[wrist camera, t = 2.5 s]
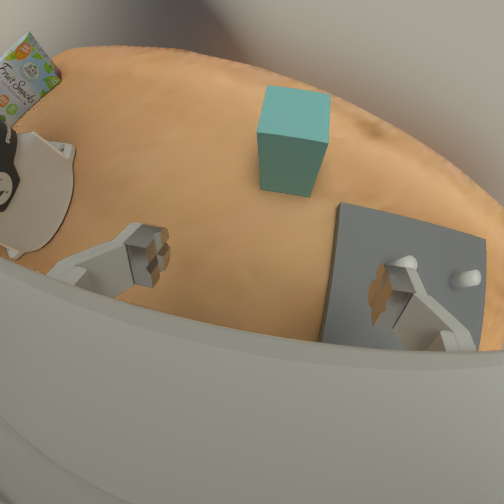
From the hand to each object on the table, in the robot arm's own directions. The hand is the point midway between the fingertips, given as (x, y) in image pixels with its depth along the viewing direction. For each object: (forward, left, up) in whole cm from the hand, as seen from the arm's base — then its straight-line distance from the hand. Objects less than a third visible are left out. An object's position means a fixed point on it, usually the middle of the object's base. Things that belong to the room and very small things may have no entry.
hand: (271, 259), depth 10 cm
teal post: (-4, +11, -16) cm, 20 cm away
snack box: (-61, +5, -16) cm, 63 cm away
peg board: (+15, +4, -16) cm, 22 cm away
